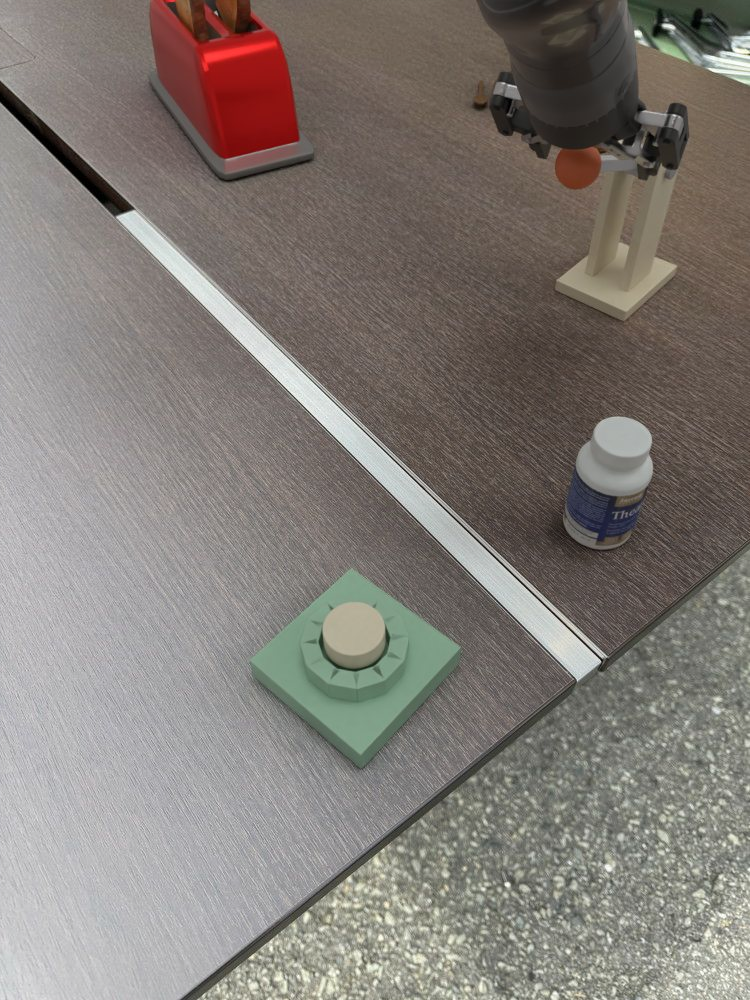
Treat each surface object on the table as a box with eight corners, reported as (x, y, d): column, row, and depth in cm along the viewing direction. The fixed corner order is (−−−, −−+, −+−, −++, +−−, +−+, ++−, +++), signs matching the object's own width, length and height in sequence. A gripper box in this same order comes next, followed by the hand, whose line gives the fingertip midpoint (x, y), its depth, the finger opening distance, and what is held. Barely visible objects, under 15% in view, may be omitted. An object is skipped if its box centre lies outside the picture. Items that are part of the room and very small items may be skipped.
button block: (459, 663, 58) (463, 632, 55) (361, 770, 53) (359, 742, 50) (352, 584, 62) (350, 552, 59) (252, 676, 57) (245, 645, 54)
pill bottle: (607, 564, 63) (636, 476, 55) (548, 526, 65) (568, 438, 58) (645, 522, 65) (678, 433, 58) (587, 487, 68) (610, 398, 60)
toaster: (145, 81, 119) (111, -75, 104) (231, 63, 122) (210, -90, 108) (221, 185, 100) (192, 12, 85) (320, 160, 103) (308, -11, 89)
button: (398, 639, 55) (398, 625, 53) (356, 681, 53) (355, 667, 51) (352, 605, 56) (351, 590, 55) (311, 644, 55) (309, 630, 53)
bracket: (623, 322, 82) (660, 178, 70) (554, 290, 85) (578, 148, 74) (674, 275, 86) (716, 134, 75) (606, 247, 90) (637, 108, 79)
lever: (579, 197, 66) (595, 149, 64) (540, 182, 67) (555, 134, 65) (659, 187, 77) (675, 146, 75) (625, 174, 79) (640, 134, 77)
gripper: (708, 23, 51) (699, 128, 66) (489, -11, 55) (528, 95, 71) (666, 146, 52) (666, 222, 67) (453, 104, 56) (499, 184, 72)
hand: (595, 157), depth 69 cm, fingers open, 8 cm apart
